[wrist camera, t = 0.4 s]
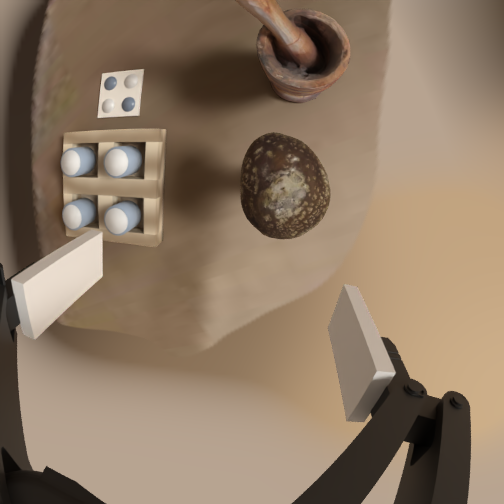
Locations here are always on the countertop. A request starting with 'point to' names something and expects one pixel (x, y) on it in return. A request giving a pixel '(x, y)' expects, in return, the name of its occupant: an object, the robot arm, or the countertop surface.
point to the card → (120, 93)
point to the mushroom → (283, 186)
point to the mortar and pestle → (299, 49)
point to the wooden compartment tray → (121, 182)
